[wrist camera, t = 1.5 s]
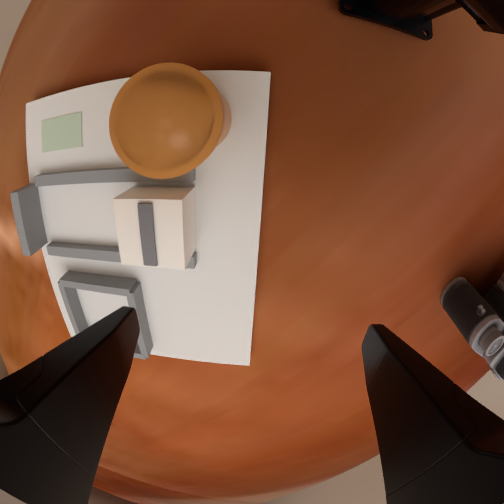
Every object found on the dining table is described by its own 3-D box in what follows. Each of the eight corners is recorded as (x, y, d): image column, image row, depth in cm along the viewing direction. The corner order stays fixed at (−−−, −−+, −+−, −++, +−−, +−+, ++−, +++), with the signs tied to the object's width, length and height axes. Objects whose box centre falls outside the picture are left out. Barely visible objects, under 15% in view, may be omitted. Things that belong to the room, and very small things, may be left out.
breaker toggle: (195, 186, 16) (181, 201, 13) (196, 246, 18) (184, 271, 15) (134, 185, 16) (111, 199, 13) (139, 243, 18) (120, 266, 15)
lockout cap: (239, 81, 14) (226, 59, 8) (235, 159, 16) (220, 180, 10) (160, 84, 14) (110, 70, 8) (159, 158, 16) (110, 179, 10)
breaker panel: (270, 75, 14) (272, 63, 11) (249, 355, 24) (248, 387, 21) (35, 102, 14) (5, 105, 11) (76, 329, 24) (60, 352, 21)
